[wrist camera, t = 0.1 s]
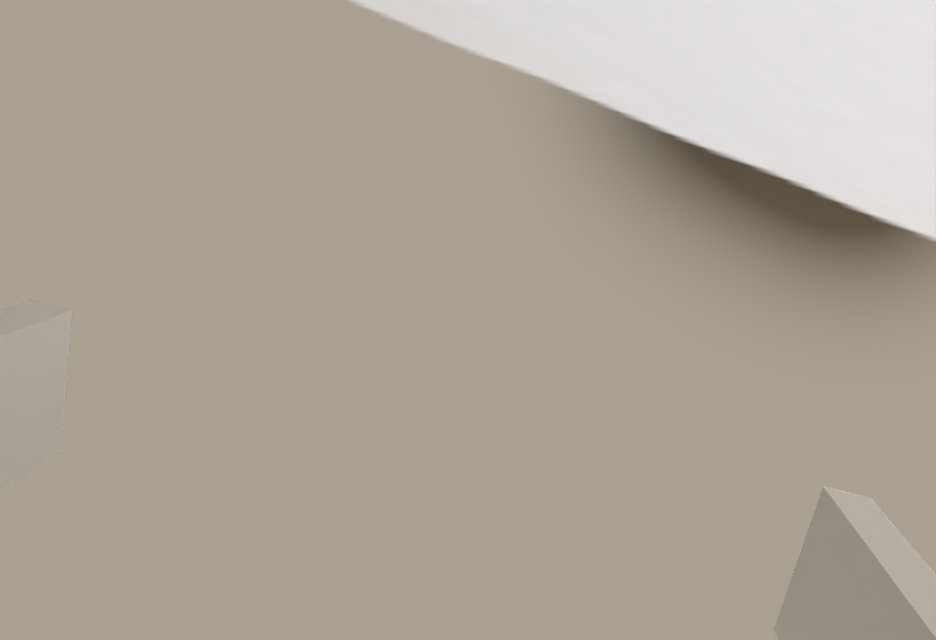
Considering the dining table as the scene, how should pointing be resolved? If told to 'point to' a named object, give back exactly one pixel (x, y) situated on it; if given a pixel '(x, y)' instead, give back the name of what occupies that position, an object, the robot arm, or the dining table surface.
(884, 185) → the dining table surface
